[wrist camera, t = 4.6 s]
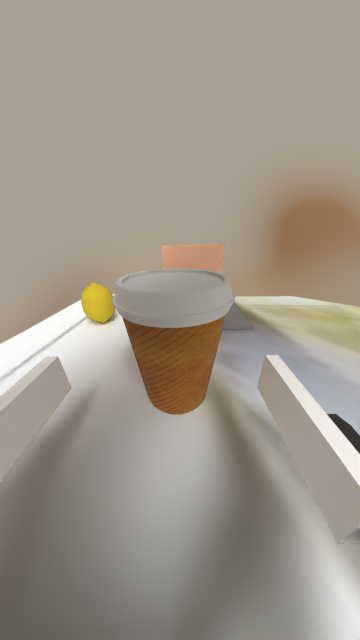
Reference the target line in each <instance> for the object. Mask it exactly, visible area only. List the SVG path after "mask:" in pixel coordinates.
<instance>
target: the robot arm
mask: <svg viewBox="0 0 360 640" xmlns="http://www.w3.org/2000/svg"><path fill="white" fill-rule="evenodd" d="M70 389H71V386H70V384H69V381H68V379H67V377H66V374H65V372H64V369H63V367H62V365H61V362H60V360H59V358H58V357H46V358H45V359H43V360H42V361H41V362H40V363H39V364H38V365H37V366H35V367H34V368H33V369H32V370H31V371H30V372H28V373H27V374H26V375H25V376H24V377H23V378H22V379H20V380H19V381H18V382H17V383H16V384H15V385H14V386H12V387H11V388H10V389H9V390H8V391H7V392H5V393H4V394H3V395H2V396H1V397H0V483H1V482H2V481H3V479H4V478H5V477H6V475H7V474H8V472H9V471H10V470H11V468H12V467H13V466H14V464H15V463H16V462H17V460H18V459H19V458H20V456H21V455H22V454H23V452H24V451H25V450H26V448H27V447H28V446H29V444H30V443H31V442H32V440H33V439H34V437H35V436H36V435H37V433H38V432H39V431H40V429H41V428H42V427H43V425H44V424H45V423H46V421H47V420H48V419H49V417H50V416H51V415H52V413H53V412H54V411H55V409H56V408H57V407H58V405H59V404H60V402H61V401H62V400H63V398H64V397H65V396H66V394H67V393H68V392H69V390H70ZM258 389H259V391H260V393H261V395H262V397H263V399H264V401H265V403H266V405H267V407H268V409H269V411H270V413H271V415H272V417H273V419H274V421H275V423H276V425H277V427H278V429H279V431H280V432H281V434H282V436H283V438H284V440H285V442H286V444H287V446H288V448H289V450H290V452H291V454H292V456H293V458H294V460H295V462H296V464H297V466H298V468H299V470H300V472H301V474H302V476H303V478H304V480H305V482H306V484H307V486H308V488H309V490H310V491H311V493H312V495H313V497H314V499H315V501H316V503H317V505H318V507H319V509H320V511H321V513H322V515H323V517H324V519H325V521H326V523H327V525H328V527H329V529H330V531H331V533H332V535H333V537H334V539H335V541H336V543H337V544H360V435H359V434H358V433H357V432H356V431H355V430H354V429H353V428H352V426H351V425H349V424H348V423H347V422H345V421H344V420H343V419H342V418H340V417H339V416H338V415H336V414H326V413H325V411H324V410H323V409H322V408H321V407H320V405H319V404H318V403H317V402H316V401H315V399H314V398H313V397H312V396H311V395H310V393H309V392H308V391H307V390H306V388H305V387H304V386H303V385H302V384H301V382H300V381H299V380H298V379H297V378H296V376H295V375H294V374H293V373H292V371H291V370H290V369H289V368H288V367H287V365H286V364H285V363H284V362H283V361H282V359H281V358H280V357H279V356H278V355H266V356H265V360H264V363H263V367H262V371H261V375H260V379H259V383H258Z"/></svg>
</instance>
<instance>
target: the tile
mask: <svg viewBox="0 0 360 640" xmlns="http://www.w3.org/2000/svg"><path fill="white" fill-rule="evenodd" d="M224 248H225V244H185V245H162V260H163V269H201V270H209V271H215V272H219V273H222V270H223V258H224Z"/></svg>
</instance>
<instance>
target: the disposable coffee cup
mask: <svg viewBox="0 0 360 640" xmlns="http://www.w3.org/2000/svg"><path fill="white" fill-rule="evenodd" d="M112 300H113V305H114V307H115V308H116V309H117V310H118V312H119V314H120V315H121V316H122V317H123V320H124V323H125V326H126V329H127V333H128V335H129V338H130V341H131V344H132V348H133V351H134V354H135V357H136V360H137V363H138V366H139V369H140V372H141V375H142V378H143V381H144V384H145V387H146V390H147V393H148V396H149V398H150V400H151V402H152V404H153V405H154V406H155V407H156V408H158V409H159V410H161V411H163V412H166V413H169V414H184V413H188V412H190V411H193V410H194V409H196V408H197V407H198V406H199V405H200V404H201V403H202V402H203V400H204V398H205V396H206V391H207V387H208V383H209V380H210V376H211V372H212V368H213V364H214V360H215V356H216V352H217V348H218V344H219V340H220V336H221V332H222V328H223V324H224V320H225V316H226V313H227V312H228V311H229V309H230V307H231V305H232V304H233V303H234V300H235V295H234V293H233V292H232V291H231V284H230V278H229V277H228V276H227V275H225V274H222V273H219V272H215V271H209V270H201V269H159V270H149V271H142V272H137V273H132V274H128V275H125V276H123V277H121V278H119V279H118V280H117V283H116V294H115V295H114V297H113V298H112Z"/></svg>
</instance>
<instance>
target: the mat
mask: <svg viewBox="0 0 360 640" xmlns="http://www.w3.org/2000/svg"><path fill="white" fill-rule="evenodd" d="M222 329H253V326H252V325H251V324H250V323H249V321H248V320H247V319H246V317H245V316H244V315H243V314H242V312H241V311H240V310H239V309H238V307H237V306H236V305H235V304H234V303H233V304H232V305H231V307H230V309H229V311H228V312H227V313H226V316H225V320H224V324H223V328H222Z"/></svg>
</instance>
